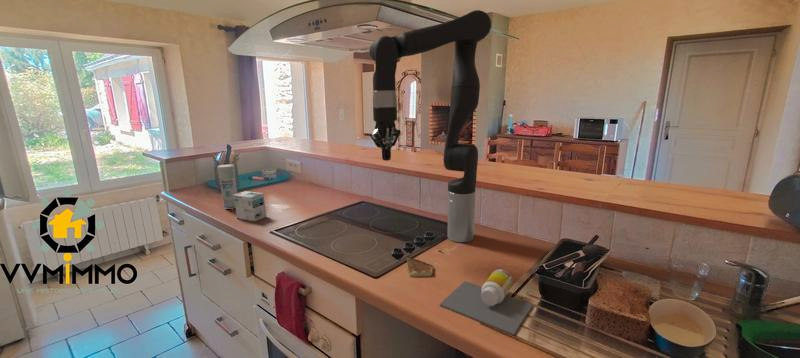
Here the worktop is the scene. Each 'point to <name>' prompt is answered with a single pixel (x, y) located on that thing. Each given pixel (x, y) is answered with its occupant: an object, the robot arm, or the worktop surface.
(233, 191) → the spray can
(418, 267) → the shard
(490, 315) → the mat
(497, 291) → the supplement bottle
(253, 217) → the light bulb box
